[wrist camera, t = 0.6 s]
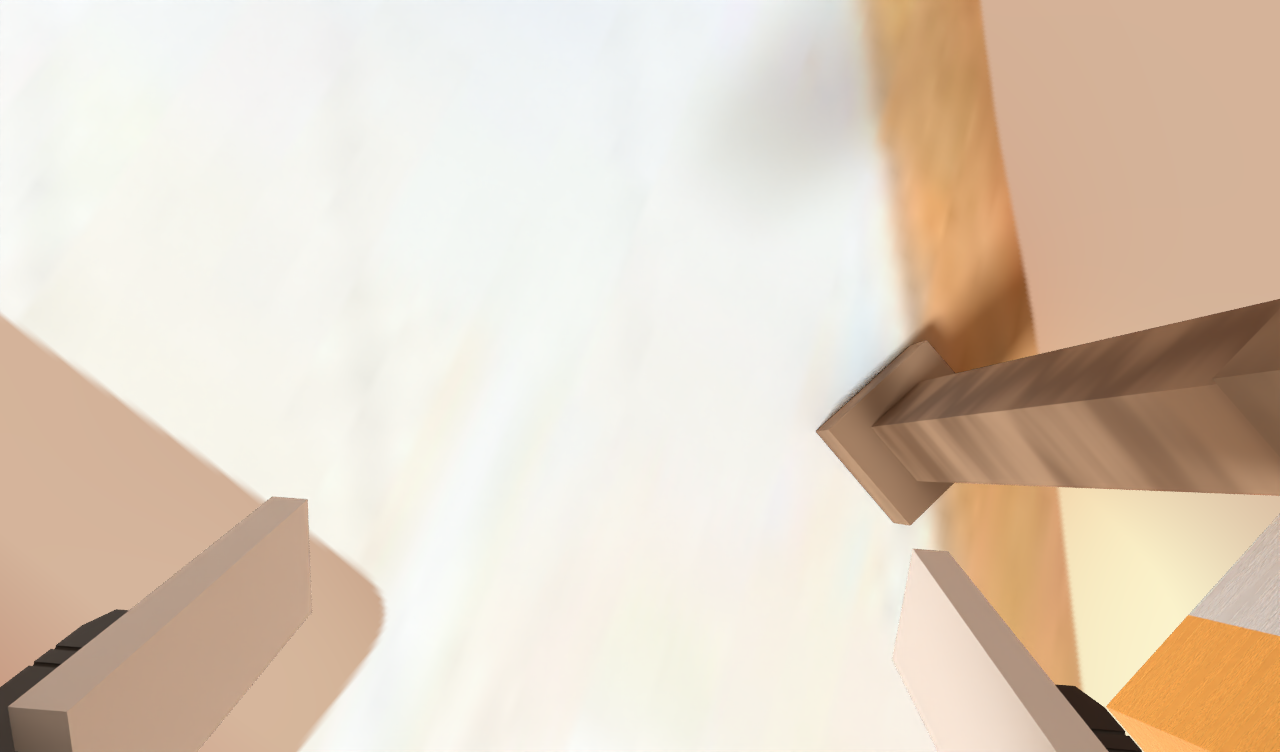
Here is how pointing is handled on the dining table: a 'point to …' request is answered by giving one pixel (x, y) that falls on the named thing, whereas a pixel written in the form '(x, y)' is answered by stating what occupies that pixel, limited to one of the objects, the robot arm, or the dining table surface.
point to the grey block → (1216, 667)
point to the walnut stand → (1076, 416)
